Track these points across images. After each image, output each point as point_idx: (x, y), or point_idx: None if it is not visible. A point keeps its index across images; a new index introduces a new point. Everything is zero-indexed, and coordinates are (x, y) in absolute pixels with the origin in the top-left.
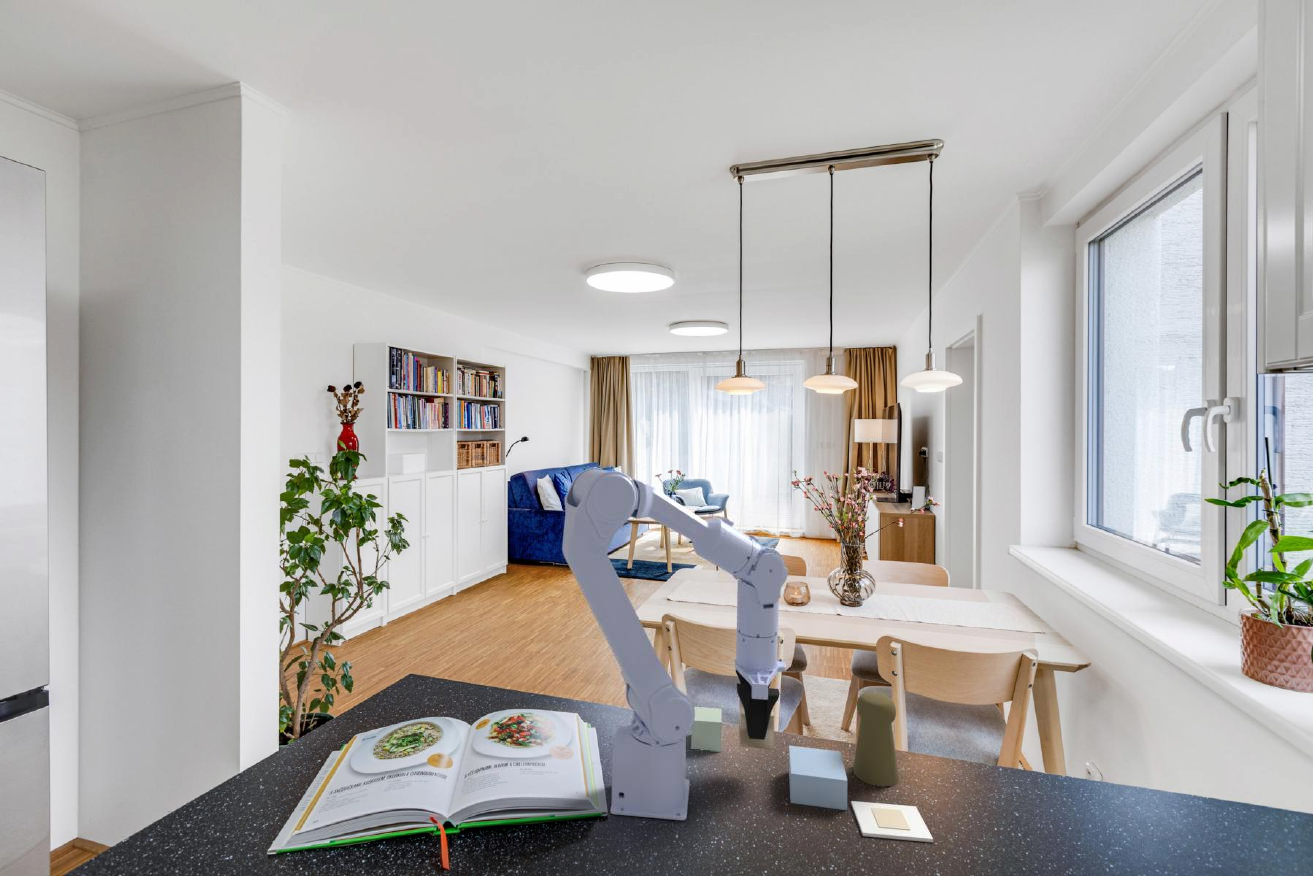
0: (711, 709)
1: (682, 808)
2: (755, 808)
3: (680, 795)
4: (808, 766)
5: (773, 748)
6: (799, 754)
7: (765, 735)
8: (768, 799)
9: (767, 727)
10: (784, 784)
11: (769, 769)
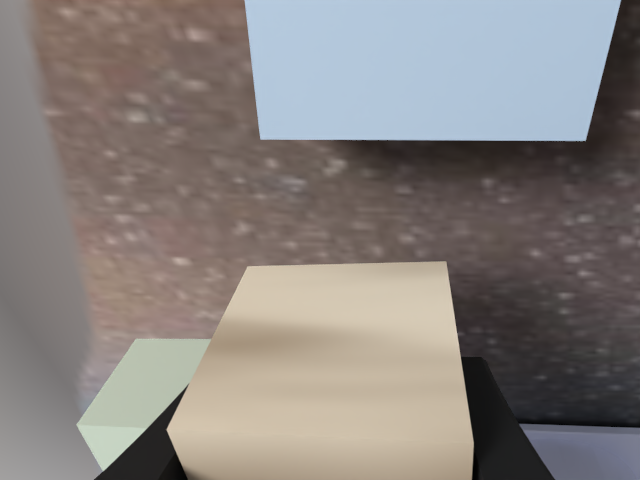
0: (105, 454)
1: (618, 444)
2: (585, 237)
3: (613, 478)
4: (494, 21)
5: (446, 264)
6: (350, 79)
7: (490, 374)
8: (520, 189)
9: (515, 418)
10: None
11: (295, 181)
